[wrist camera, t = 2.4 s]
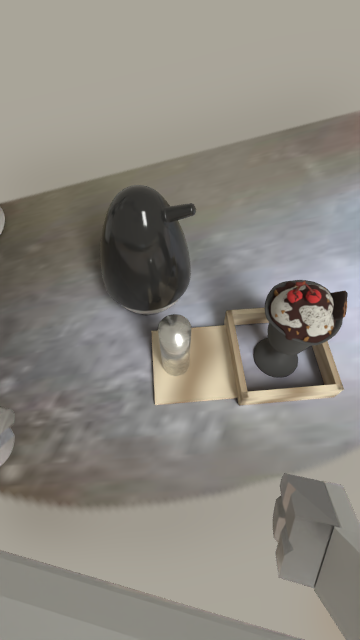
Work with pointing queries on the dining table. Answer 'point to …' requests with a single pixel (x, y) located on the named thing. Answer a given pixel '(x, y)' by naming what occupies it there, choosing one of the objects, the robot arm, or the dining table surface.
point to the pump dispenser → (145, 250)
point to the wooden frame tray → (221, 364)
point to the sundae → (297, 323)
